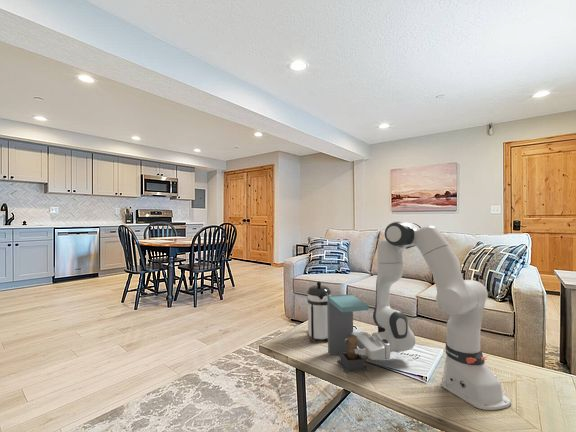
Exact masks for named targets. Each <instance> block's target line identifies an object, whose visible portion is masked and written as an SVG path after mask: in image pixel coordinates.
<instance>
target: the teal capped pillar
mask: <svg viewBox="0 0 576 432" xmlns="http://www.w3.org/2000/svg"><path fill="white" fill-rule="evenodd" d="M327 305H328V340H327V353H328V354H329V355H336V354H337V355H338V354H340V353H348V344H346V343H345V339H348V335H351V333H353V332H354V312H363V311H369V309H370V308H369V304H367V303H366V302H364V301H363V300H361V299H359V298H358V297H356V296H354V295H353V294H352V293H350V294H336V295H335V294H333V295H331V296H327Z"/></svg>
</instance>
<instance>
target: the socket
mask: <svg viewBox="0 0 576 432" xmlns="http://www.w3.org/2000/svg"><path fill="white" fill-rule="evenodd" d="M339 354H340V359H337V360H336V363H337V364H338V365H339V366H340V368H341V369H342V370H343V372H344V373H345V374H350V373H351V374H352V373H361V372H368V371H369V368H368V367H367V366H366V365H365V359H364V358H363V357H362V356H361V354H357V360H349V361H348V353H339Z"/></svg>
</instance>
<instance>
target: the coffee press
mask: <svg viewBox="0 0 576 432" xmlns="http://www.w3.org/2000/svg"><path fill="white" fill-rule="evenodd" d="M306 294H307V328H308V329H307V331H308V332H307V335H308V336H309V337H310V339H309V341H310V342H311V343H314V342H315V340H325V339H326V340H327V341H328V305H327V296H332V290H331V289H330V287H328V286H327V285H322V282H321V281H317V283H316V285H312V286H309V288H308V289H307V291H306Z"/></svg>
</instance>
